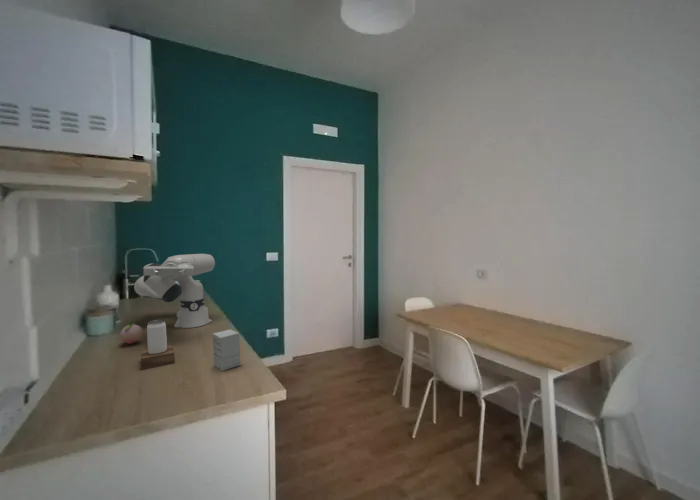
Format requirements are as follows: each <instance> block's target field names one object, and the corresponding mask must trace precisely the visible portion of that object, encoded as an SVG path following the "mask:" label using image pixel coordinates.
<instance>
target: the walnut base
mask: <svg viewBox="0 0 700 500" xmlns="http://www.w3.org/2000/svg"><path fill="white" fill-rule="evenodd" d="M174 350H175V349H174V348H173V344H169V345H167V350H166V351H165V352H163V353H160V354H149V353H148V348H147V349H141V350H140V366H141V368H140V370H146V369H152V368H157V367H161V366H167V365H172V364H175V363H176V362H175V361H176V360H175V351H174Z"/></svg>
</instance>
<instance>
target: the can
mask: <svg viewBox="0 0 700 500" xmlns="http://www.w3.org/2000/svg"><path fill="white" fill-rule="evenodd" d="M146 335H147V339H146V340H147V341H146V342H147V349H148V353H149V354H160V353H163V352H165V351H166V350H167V346H168V342H167V341H168V337H167V324H166V322H165V319H156V320H155V319H154V320H150V321H148V322H147V326H146Z"/></svg>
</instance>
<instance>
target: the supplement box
mask: <svg viewBox="0 0 700 500" xmlns="http://www.w3.org/2000/svg"><path fill="white" fill-rule="evenodd" d="M212 347H213V351H212V352H213V366H214V367H216V368H217V369H219V370H220V371H222V372H223V371H227V370H229V369H232V368H236V367H238V366H241V351H240V350H241V347H240V333H239V332H238V331H236V330H233V329H227V330H223V331H218V332H213V333H212Z"/></svg>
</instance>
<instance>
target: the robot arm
mask: <svg viewBox="0 0 700 500" xmlns="http://www.w3.org/2000/svg"><path fill="white" fill-rule="evenodd" d="M215 266H216V261H215V258H214V256H213V255H212V254H207V253H191V254H188V253H187V254H177V255H176V254H175V255H172V256H168V257H167V258H166V260H165V261H164V262H163V263H162V264H159V263H156V262H155V263H149V264H146V265H144V266H143V267H142V268H141V269H140V274H141V276H140V277H139V278H138V279H136V280H135V282H134V287H133V289H134V292H135V293H136V294H137V295H138V296H140V297H150V298H151V297H152V298H154V299H157V300H161V301H163V302H164V303H172V302H174V301H176V300H177V299H178V298H180V303H179V307H180V309H179V310H178V311H177V312H176V314H175V315H176V318H177V319H176V321H175V323H174V328H183V329H188V328H189V329H190V328H197V327H202V326H205V325H207V324H209V323H212V321H213V320H212V319H210V318H209V309H208V307H207V306H206V305H205V298H204V285H203V283H201V282H200V281H198V280H196V279H194V278H193V277H194V276H195V277H196V276H198V275H202V274H204V273H205V274H206V273H208V272H212V271H213V270H214V268H215Z"/></svg>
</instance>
